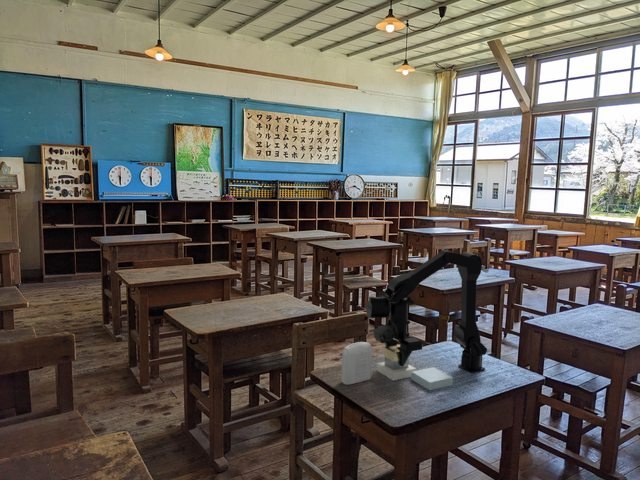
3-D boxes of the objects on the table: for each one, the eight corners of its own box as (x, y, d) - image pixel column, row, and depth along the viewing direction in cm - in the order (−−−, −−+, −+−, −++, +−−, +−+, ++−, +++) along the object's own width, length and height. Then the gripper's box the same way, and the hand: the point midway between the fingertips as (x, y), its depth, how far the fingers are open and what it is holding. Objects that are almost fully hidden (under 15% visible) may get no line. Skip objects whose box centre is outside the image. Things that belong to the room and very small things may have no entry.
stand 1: (398, 366, 165) (399, 359, 165) (415, 375, 157) (415, 368, 157) (377, 370, 161) (377, 363, 161) (393, 380, 153) (393, 373, 153)
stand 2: (433, 374, 159) (433, 367, 158) (452, 385, 151) (452, 377, 150) (411, 379, 154) (411, 371, 154) (429, 390, 147) (430, 382, 146)
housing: (399, 361, 163) (400, 344, 162) (409, 367, 158) (410, 349, 157) (383, 364, 160) (383, 347, 159) (393, 370, 155) (394, 352, 154)
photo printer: (364, 375, 157) (366, 338, 156) (373, 379, 154) (374, 342, 152) (339, 381, 152) (340, 343, 150) (347, 386, 148) (348, 347, 146)
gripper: (362, 312, 161) (360, 357, 163) (395, 328, 145) (393, 377, 147) (389, 308, 166) (387, 352, 168) (424, 323, 150) (422, 371, 152)
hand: (396, 362), depth 159 cm, fingers closed on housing, 5 cm apart
